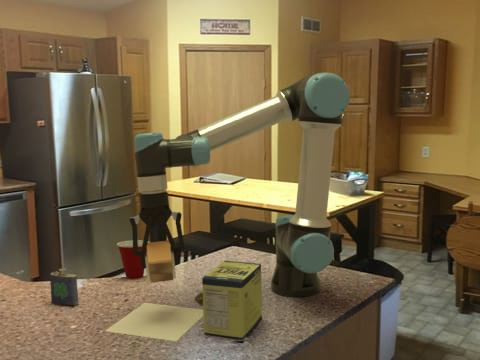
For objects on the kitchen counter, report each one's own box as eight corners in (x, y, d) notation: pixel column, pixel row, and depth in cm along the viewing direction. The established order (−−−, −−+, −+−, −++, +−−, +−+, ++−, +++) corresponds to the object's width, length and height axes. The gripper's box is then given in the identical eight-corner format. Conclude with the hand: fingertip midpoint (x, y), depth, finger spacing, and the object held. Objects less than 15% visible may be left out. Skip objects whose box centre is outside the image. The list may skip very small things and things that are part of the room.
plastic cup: (154, 271, 183) (153, 237, 182) (146, 281, 173) (144, 246, 171) (124, 271, 184) (122, 237, 183) (114, 281, 174) (112, 246, 172)
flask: (80, 303, 154) (77, 268, 153) (73, 307, 152) (71, 271, 150) (55, 300, 158) (52, 265, 156) (48, 303, 155) (45, 268, 154)
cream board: (209, 313, 145) (208, 310, 144) (176, 345, 126) (176, 341, 126) (144, 306, 151) (144, 302, 151) (104, 334, 133) (104, 331, 133)
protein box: (262, 319, 140) (261, 262, 138) (243, 344, 126) (241, 281, 123) (226, 314, 144) (224, 259, 142) (203, 338, 129) (201, 277, 127)
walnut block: (171, 261, 146) (169, 240, 138) (173, 279, 142) (171, 259, 135) (149, 263, 145) (146, 243, 138) (150, 282, 141) (148, 262, 134)
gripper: (188, 187, 143) (196, 271, 145) (117, 194, 140) (126, 279, 142) (190, 189, 136) (198, 277, 137) (115, 196, 133) (124, 286, 134)
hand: (161, 278), depth 139 cm, fingers closed on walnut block, 6 cm apart
